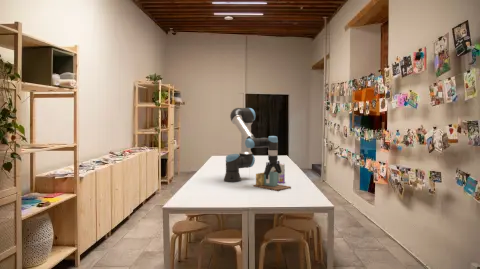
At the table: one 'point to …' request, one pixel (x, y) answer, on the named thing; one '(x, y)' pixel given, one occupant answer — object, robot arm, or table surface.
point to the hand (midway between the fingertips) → (272, 182)
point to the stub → (272, 179)
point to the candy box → (282, 174)
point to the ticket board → (261, 185)
